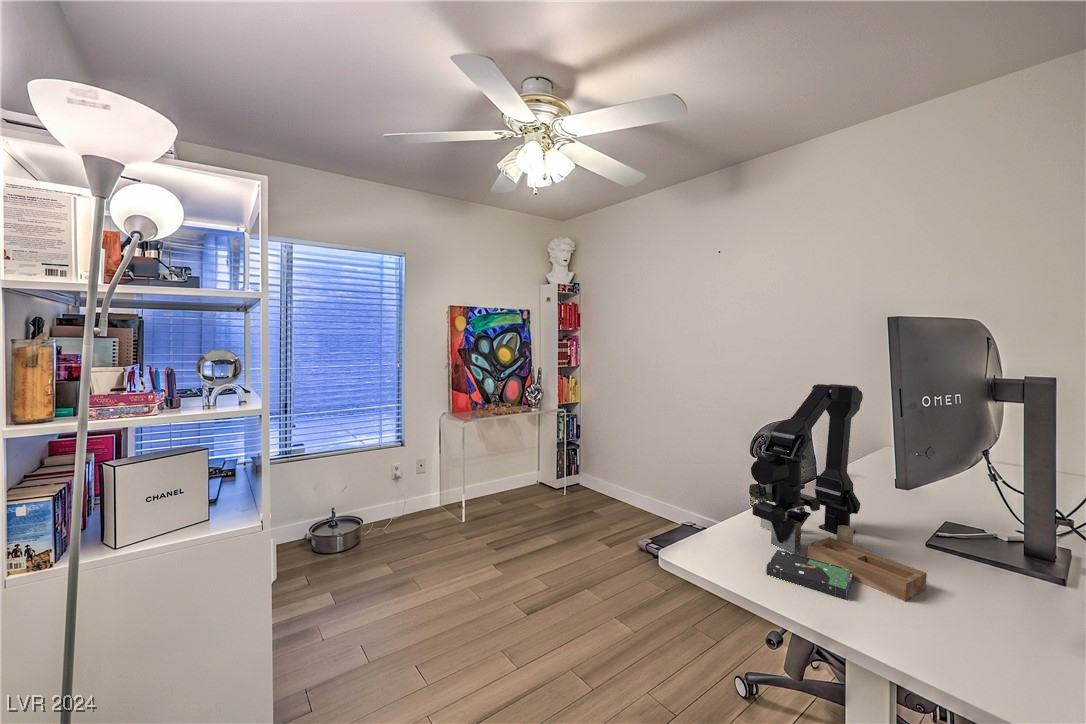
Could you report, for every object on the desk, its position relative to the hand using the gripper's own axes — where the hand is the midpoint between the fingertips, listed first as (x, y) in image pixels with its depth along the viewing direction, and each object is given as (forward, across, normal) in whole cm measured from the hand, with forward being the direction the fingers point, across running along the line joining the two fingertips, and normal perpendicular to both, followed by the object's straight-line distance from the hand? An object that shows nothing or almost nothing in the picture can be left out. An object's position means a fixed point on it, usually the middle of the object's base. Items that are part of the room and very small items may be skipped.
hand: (785, 541), depth 109 cm
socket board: (+2, -4, +16) cm, 16 cm away
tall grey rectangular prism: (+2, 0, 0) cm, 2 cm away
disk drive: (+3, +9, +11) cm, 14 cm away
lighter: (+2, -8, -8) cm, 11 cm away
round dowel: (+2, -11, +8) cm, 14 cm away
